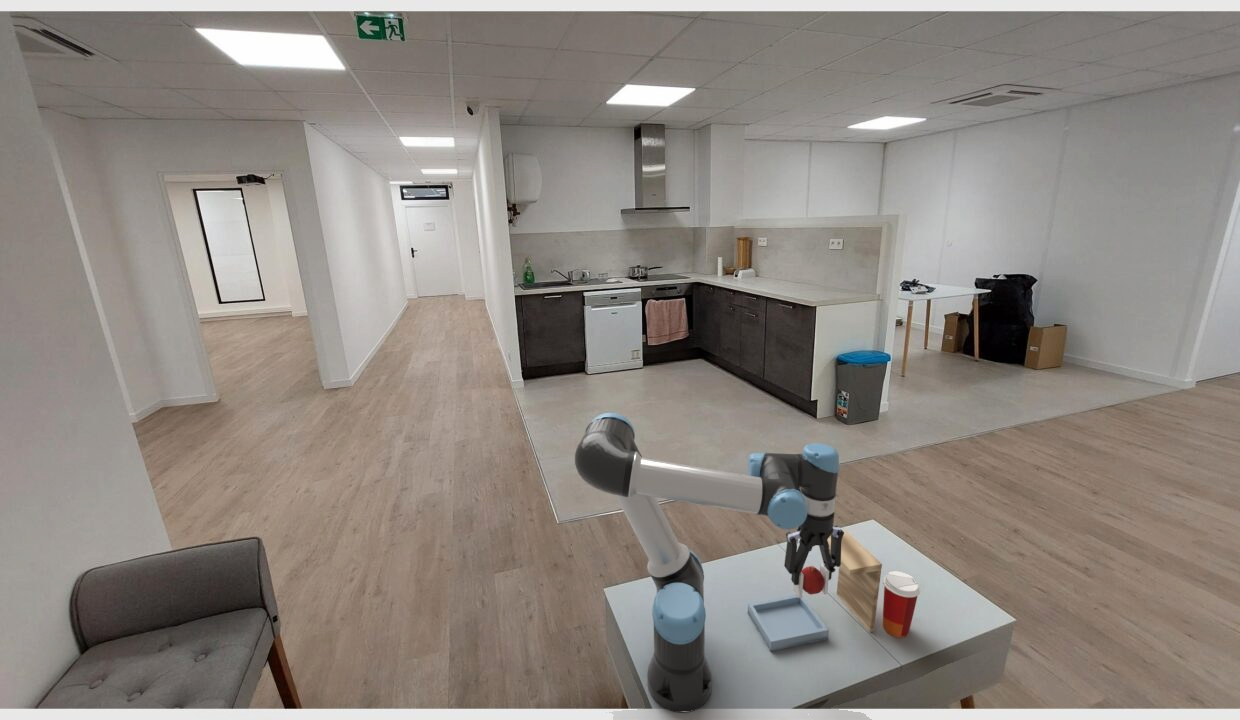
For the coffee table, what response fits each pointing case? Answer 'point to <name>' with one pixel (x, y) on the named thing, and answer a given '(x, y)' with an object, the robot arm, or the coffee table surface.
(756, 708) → the coffee table surface
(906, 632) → the coffee cup
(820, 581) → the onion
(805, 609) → the tray
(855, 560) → the wooden l-shaped bracket
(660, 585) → the robot arm
